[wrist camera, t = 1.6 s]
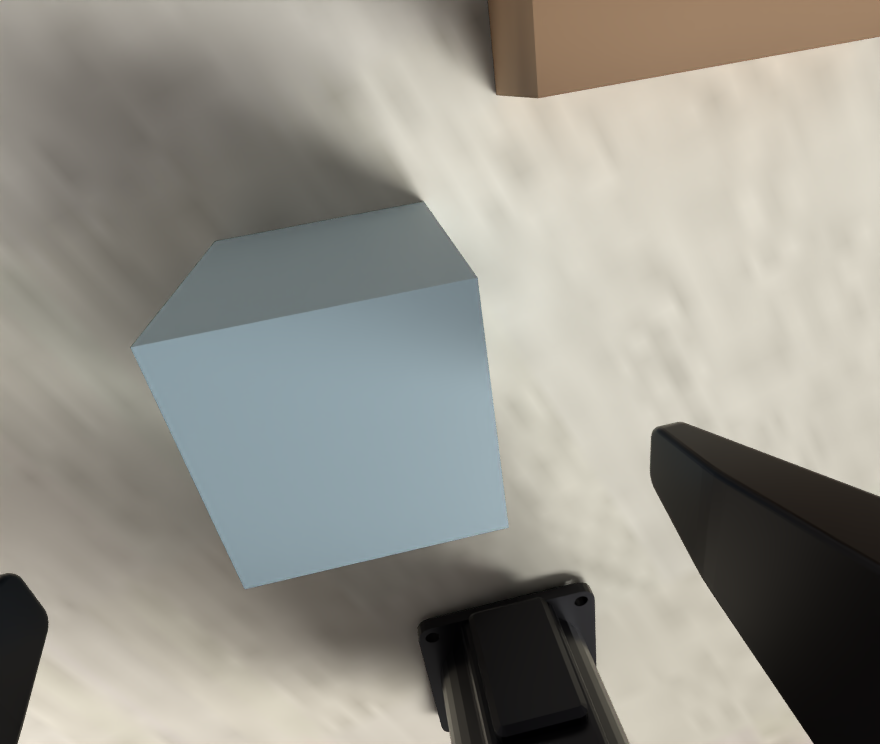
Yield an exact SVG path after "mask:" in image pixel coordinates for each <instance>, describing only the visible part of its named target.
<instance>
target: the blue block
mask: <svg viewBox="0 0 880 744" xmlns="http://www.w3.org/2000/svg"><path fill="white" fill-rule="evenodd" d="M130 348H131V350H132V352H133V354H134V356H135V358H136V360H137V362H138V365H139V367H140V369H141V371H142V373H143V375H144V377H145V379H146V381H147V384H148V386H149V388H150V390H151V392H152V394H153V396H154V398H155V401H156V403H157V405H158V407H159V409H160V411H161V413H162V415H163V417H164V420H165V422H166V424H167V426H168V428H169V430H170V432H171V434H172V437H173V439H174V441H175V443H176V445H177V447H178V449H179V451H180V453H181V456H182V458H183V460H184V462H185V464H186V466H187V468H188V470H189V473H190V475H191V477H192V479H193V481H194V483H195V485H196V487H197V489H198V492H199V494H200V496H201V498H202V500H203V502H204V504H205V506H206V509H207V511H208V513H209V515H210V517H211V519H212V521H213V523H214V525H215V528H216V530H217V532H218V534H219V536H220V538H221V540H222V542H223V545H224V547H225V549H226V551H227V553H228V555H229V557H230V559H231V561H232V564H233V566H234V568H235V570H236V572H237V574H238V576H239V578H240V581H241V583H242V585H243V587H244V589H248V588H253V587H257V586H261V585H265V584H270V583H274V582H278V581H283V580H287V579H291V578H295V577H300V576H304V575H308V574H312V573H317V572H321V571H325V570H330V569H334V568H338V567H342V566H347V565H351V564H355V563H360V562H364V561H368V560H372V559H377V558H381V557H385V556H389V555H394V554H398V553H402V552H407V551H411V550H415V549H419V548H424V547H428V546H432V545H436V544H441V543H445V542H449V541H454V540H458V539H462V538H466V537H471V536H475V535H479V534H484V533H488V532H492V531H496V530H501V529H505V528H509V526H508V518H507V510H506V502H505V494H504V486H503V478H502V470H501V462H500V454H499V446H498V438H497V430H496V422H495V414H494V406H493V398H492V390H491V382H490V374H489V366H488V358H487V350H486V342H485V334H484V326H483V318H482V310H481V302H480V294H479V286H478V278H477V276H476V275H475V273H474V272H473V271H472V269H471V268H470V266H469V265H468V263H467V262H466V261H465V259H464V258H463V256H462V255H461V254H460V252H459V251H458V249H457V248H456V246H455V245H454V244H453V242H452V241H451V239H450V238H449V237H448V235H447V234H446V232H445V231H444V229H443V228H442V227H441V225H440V224H439V222H438V221H437V220H436V218H435V217H434V215H433V214H432V212H431V211H430V210H429V208H428V207H427V205H426V204H425V203H424V202H418V203H413V204H408V205H403V206H397V207H392V208H387V209H382V210H376V211H371V212H366V213H361V214H355V215H350V216H345V217H340V218H334V219H329V220H324V221H319V222H313V223H308V224H303V225H298V226H293V227H287V228H282V229H277V230H272V231H266V232H261V233H256V234H251V235H245V236H240V237H235V238H230V239H224V240H219V241H215V242H214V243H213V244H212V246H211V247H210V248H209V249H208V251H207V252H206V253H205V255H204V256H203V257H202V258H201V260H200V261H199V262H198V263H197V265H196V266H195V267H194V268H193V270H192V271H191V272H190V273H189V275H188V276H187V277H186V278H185V280H184V281H183V282H182V283H181V285H180V286H179V287H178V288H177V290H176V291H175V292H174V293H173V295H172V296H171V297H170V298H169V300H168V301H167V302H166V303H165V305H164V306H163V307H162V308H161V310H160V311H159V312H158V313H157V315H156V316H155V317H154V319H153V320H152V321H151V322H150V324H149V325H148V326H147V327H146V329H145V330H144V331H143V332H142V334H141V335H140V336H139V337H138V339H137V340H136V341H135V342H134V344H133V345H132V346H131V347H130Z"/></svg>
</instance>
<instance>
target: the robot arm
mask: <svg viewBox="0 0 880 744" xmlns="http://www.w3.org/2000/svg"><path fill="white" fill-rule="evenodd" d="M650 477H651V481H652V484H653V487H654V489H655V491H656V493H657V495H658V496H659V498H660V500H661V502H662V504H663V506H664V508H665V510H666V511H667V513H668V515H669V517H670V519H671V521H672V523H673V525H674V527H675V528H676V530H677V532H678V534H679V536H680V538H681V540H682V542H683V544H684V545H685V547H686V549H687V551H688V553H689V555H690V557H691V559H692V561H693V562H694V564H695V566H696V568H697V570H698V571H699V573H700V575H701V577H702V578H703V580H704V581H705V583H706V585H707V586H708V588H709V589H710V591H711V592H712V594H713V595H714V597H715V598H716V600H717V601H718V603H719V604H720V606H721V607H722V609H723V610H724V612H725V613H726V615H727V616H728V618H729V619H730V621H731V622H732V624H733V625H734V626H735V628H736V629H737V631H738V632H739V634H740V635H741V637H742V638H743V640H744V641H745V643H746V644H747V646H748V647H749V649H750V650H751V652H752V653H753V655H754V656H755V658H756V659H757V661H758V662H759V663H760V665H761V666H762V668H763V669H764V671H765V672H766V674H767V675H768V677H769V678H770V680H771V681H772V683H773V684H774V686H775V687H776V689H777V690H778V692H779V693H780V695H781V696H782V697H783V699H784V700H785V702H786V703H787V705H788V706H789V708H790V709H791V711H792V712H793V714H794V715H795V717H796V718H797V720H798V721H799V723H800V724H801V726H802V727H803V729H804V730H805V732H806V733H807V734H808V736H809V737H810V739H811V740H812V742H813V743H814V744H880V496H877V495H874V494H872V493H869V492H866V491H864V490H861V489H858V488H856V487H853V486H850V485H848V484H845V483H843V482H840V481H837V480H835V479H832V478H829V477H827V476H824V475H821V474H819V473H816V472H813V471H811V470H808V469H806V468H803V467H800V466H798V465H795V464H792V463H790V462H787V461H784V460H782V459H779V458H776V457H774V456H771V455H769V454H766V453H763V452H761V451H758V450H755V449H753V448H750V447H747V446H745V445H742V444H739V443H737V442H734V441H732V440H729V439H726V438H724V437H721V436H718V435H716V434H713V433H710V432H708V431H705V430H702V429H700V428H697V427H695V426H692V425H689V424H687V423H683V422H676V423H672V424H667V425H663V426H658V427H656V428H655V429H654V430H653V432H652V435H651V454H650ZM47 632H48V616H47V613H46V611H45V609H44V608H43V606H42V605H41V604H40V602H39V601H38V600H37V598H36V597H35V596H34V594H33V593H32V592H31V590H30V589H29V588H28V586H27V585H26V583H25V582H24V581H23V579H22V578H21V577H20V576H18V575H16V574H13V573H6V574H2V575H0V744H17V743H18V740H19V737H20V733H21V730H22V726H23V722H24V719H25V715H26V711H27V707H28V704H29V700H30V696H31V692H32V688H33V685H34V681H35V677H36V673H37V670H38V666H39V662H40V658H41V654H42V651H43V647H44V643H45V639H46V636H47ZM418 638H419V643H420V647H421V651H422V655H423V658H424V662H425V666H426V670H427V673H428V677H429V681H430V685H431V688H432V692H433V696H434V700H435V703H436V707H437V711H438V715H439V718H440V722H441V726H442V728H443V730H444V731H446V732H450V738H451V744H630V743H629V741H628V739H627V736H626V734H625V732H624V730H623V727H622V725H621V723H620V720H619V718H618V716H617V714H616V711H615V709H614V707H613V704H612V702H611V700H610V698H609V695H608V693H607V691H606V688H605V686H604V684H603V682H602V679H601V677H600V675H599V673H598V670H597V668H596V637H595V598H594V595H593V593H592V591H591V589H590V587H589V585H587V584H586V583H575V584H571V585H567V586H562V587H558V588H554V589H550V590H546V591H542V592H538V593H534V594H529V595H525V596H521V597H517V598H513V599H509V600H505V601H501V602H497V603H492V604H488V605H484V606H480V607H476V608H472V609H468V610H464V611H460V612H455V613H451V614H447V615H443V616H439V617H435V618H431V619H427V620H425V621H423V622H422V623H420V625H419V626H418Z"/></svg>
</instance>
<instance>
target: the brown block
mask: <svg viewBox="0 0 880 744" xmlns="http://www.w3.org/2000/svg"><path fill="white" fill-rule="evenodd" d="M488 10H489V20H490V31H491V42H492V53H493V64H494V75H495V85H496V95H501V96H515V97H529V98H542V97H547V96H553V95H559V94H564V93H570V92H575V91H581V90H586V89H592V88H597V87H603V86H608V85H614V84H619V83H625V82H631V81H636V80H642V79H647V78H653V77H658V76H664V75H669V74H675V73H680V72H686V71H692V70H697V69H703V68H708V67H714V66H719V65H725V64H730V63H736V62H741V61H747V60H753V59H758V58H764V57H769V56H775V55H780V54H786V53H791V52H797V51H802V50H808V49H814V48H819V47H825V46H830V45H836V44H841V43H847V42H852V41H858V40H863V39H869V38H874V37H880V0H488Z"/></svg>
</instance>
